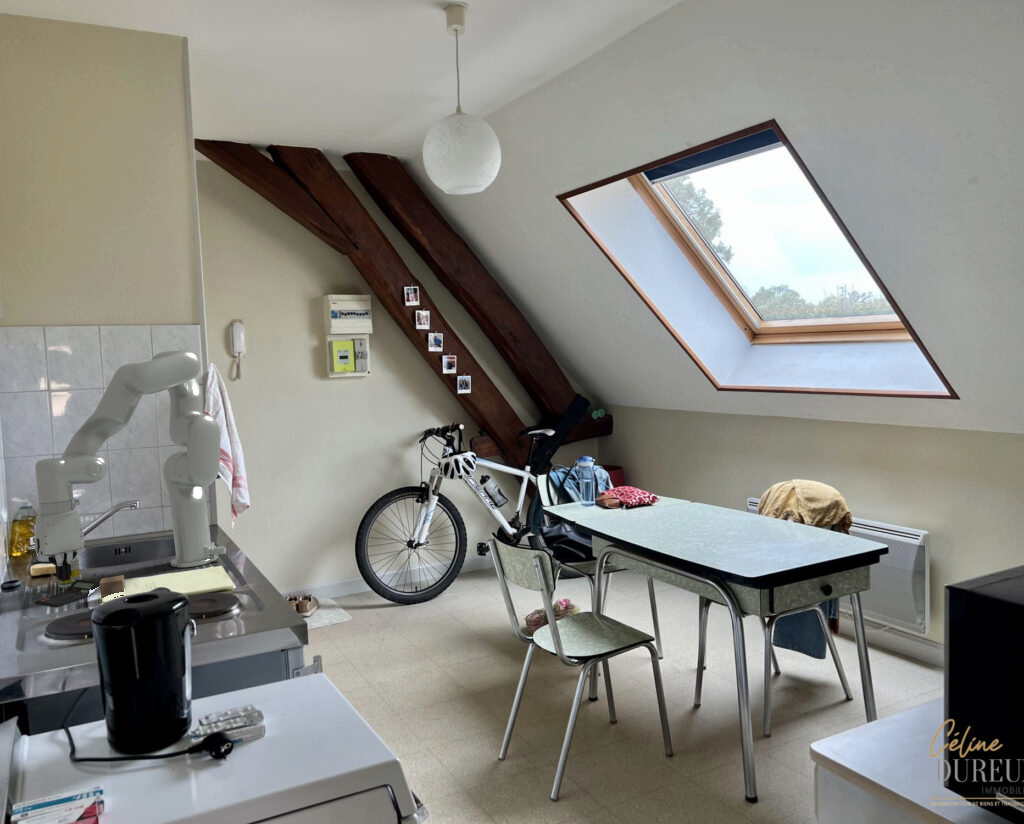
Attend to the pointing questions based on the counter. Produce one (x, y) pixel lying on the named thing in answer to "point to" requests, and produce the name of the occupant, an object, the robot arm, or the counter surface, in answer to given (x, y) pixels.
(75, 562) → the supplement bottle
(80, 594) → the calculator
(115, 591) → the walnut block
